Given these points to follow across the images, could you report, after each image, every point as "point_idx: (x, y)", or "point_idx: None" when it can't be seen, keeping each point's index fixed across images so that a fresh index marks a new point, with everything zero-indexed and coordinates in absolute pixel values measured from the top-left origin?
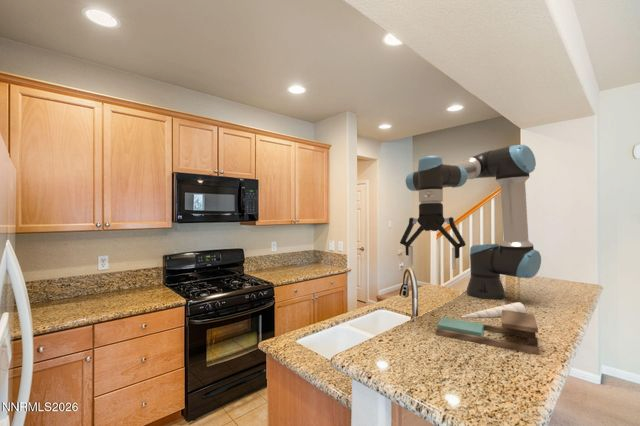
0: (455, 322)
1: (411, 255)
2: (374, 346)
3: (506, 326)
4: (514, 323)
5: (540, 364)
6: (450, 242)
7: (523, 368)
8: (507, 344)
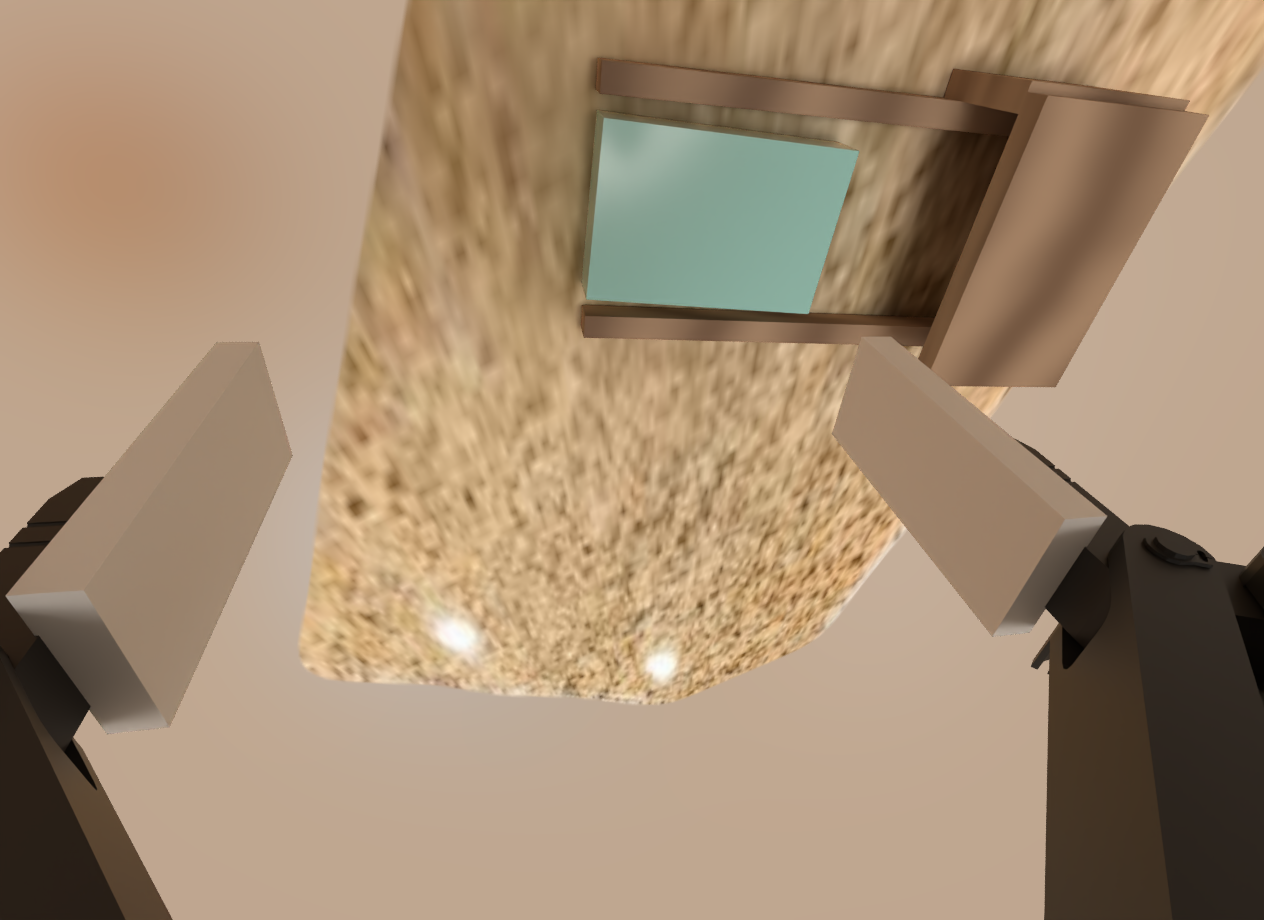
0: (689, 205)
1: (228, 532)
2: (366, 560)
3: None
4: (984, 366)
5: None
6: (1050, 732)
7: None
8: None
